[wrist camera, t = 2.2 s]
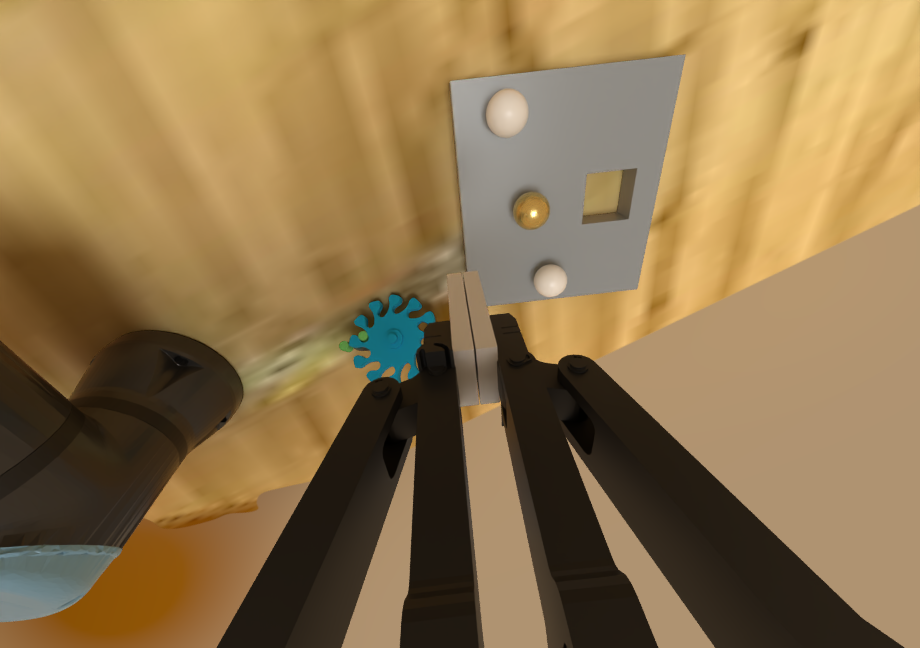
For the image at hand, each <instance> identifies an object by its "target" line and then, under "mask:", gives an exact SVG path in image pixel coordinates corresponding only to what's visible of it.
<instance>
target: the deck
mask: <svg viewBox="0 0 920 648" xmlns="http://www.w3.org/2000/svg"><path fill="white" fill-rule="evenodd" d="M685 55H686V54H685ZM685 55H677V56H668V57H659V58H650V59H641V60H632V61H623V62H615V63H606V64H597V65H588V66H579V67H570V68H561V69H552V70H544V71H535V72H526V73H517V74H508V75H499V76H490V77H482V78H473V79H464V80H455V81H450V82H449V88H450V98H451V109H452V120H453V131H454V142H455V153H456V164H457V175H458V186H459V196H460V207H461V218H462V229H463V240H464V251H465V262H466V272H471V271H478V274H479V278H480V282H481V286H482V290H483V293H484V297H485V301H486V305H487V306H494V305H502V304H511V303H520V302H529V301H537V300H546V299H555V298H564V297H572V296H581V295H590V294H599V293H607V292H616V291H625V290H634V289H637V288H638V283H639V278H640V273H641V268H642V263H643V258H644V254H645V249H646V244H647V239H648V234H649V229H650V225H651V220H652V215H653V210H654V205H655V200H656V195H657V191H658V186H659V181H660V176H661V171H662V166H663V162H664V157H665V152H666V147H667V142H668V137H669V132H670V128H671V123H672V118H673V113H674V108H675V103H676V99H677V94H678V89H679V84H680V79H681V74H682V70H683V65H684V60H685ZM508 88H510V89H515V90H517V91H519V92H520V93H521V94H522V95H523V96H524V97H525V99H526V101H527V104H528V111H529V112H528V119H527V122H526V124H525V126H524V128H523V129H522V130H521V131H520V132H519V133H518V134H517V135H515V136H513V137H510V138H502V137H499V136H497V135H495V134H494V133H493V132H492V131H491V130H490V128H489V126H488V124H487V120H486V109H487V106H488V103H489V101H490V99H491V98H492V97H493V96H494V95H495V94H496V93H497V92H498V91H500V90H503V89H508ZM617 170H623V175H622V182H621V189H620V195H619V202H618V209H617V212H616V213H607V214H598V215H589V216H583V207H584V197H585V187H586V176H587V174H590V173H599V172H608V171H617ZM527 192H538V193H541V194H542V195H544V196H545V197H546V198H547V200H548V202H549V204H550V215H549V218H548V220H547V222H546V223H545V224H544V225H543V226H542V227H540V228H538V229H535V230H526V229H523V228H521V227H520V226H519V225H518V224H517V223H516V221H515V219H514V216H513V208H514V205H515V202H516V201H517V199H518V198H519V197H520V196H521V195H523V194H525V193H527ZM549 264H553V265H557V266H559V267H561V268H562V269H563V270H564V271H565V273H566V275H567V285H566V288H565V289H564V291H563V292H562V293H560V294H559V295H557V296H554V297H546V296H543V295H541V294H540V293H539V292H538V291H537V290H536V288H535V286H534V276H535V274H536V272H537V271H538V270H539V269H540V268H541V267H543V266H545V265H549Z"/></svg>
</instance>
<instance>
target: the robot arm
mask: <svg viewBox="0 0 920 648" xmlns="http://www.w3.org/2000/svg"><path fill="white" fill-rule="evenodd" d="M463 279H464V284H463ZM447 283H448V297H449V310H450V321H442V322H433V323H429V324H428V325H427V327H426V328H425V329H424V344H423V345H421V346H420V347H419V348H418V349H417V351H416V358H417V363H418V368H419V373H418V374H417V375H416V376H414V377H413V378H411V379H409V380H406V381H404V382H401V383H399V382H398V381H397V380H396V379H394V378H391V377H381V378H378V379H375V380H373V381H371V382H370V383H368V384H367V385H366V387H365V388H364V389H363V391H362V393H361V394H360V396H359V398H358V400H357V401H356V403H355V405H354V407H353V408H352V410H351V412H350V414H349V416H348V417H347V419H346V421H345V423H344V424H343V426H342V428H341V430H340V431H339V433H338V435H337V437H336V438H335V440H334V442H333V444H332V445H331V447H330V449H329V451H328V452H327V454H326V456H325V458H324V460H323V461H322V463H321V465H320V467H319V468H318V470H317V472H316V474H315V475H314V477H313V479H312V481H311V482H310V484H309V486H308V488H307V490H306V491H305V493H304V495H303V497H302V498H301V500H300V502H299V504H298V505H297V507H296V509H295V511H294V513H293V514H292V516H291V518H290V519H289V521H288V523H287V525H286V527H285V528H284V530H283V532H282V534H281V535H280V537H279V539H278V541H277V542H276V544H275V546H274V548H273V549H272V551H271V553H270V555H269V557H268V558H267V560H266V562H265V563H264V565H263V567H262V569H261V570H260V573H259V574H258V576H257V577H256V580H255V581H254V583H253V585H252V587H251V588H250V590H249V592H248V594H247V595H246V597H245V599H244V601H243V602H242V604H241V606H240V608H239V609H238V611H237V613H236V614H235V616H234V618H233V620H232V622H231V623H230V625H229V627H228V629H227V630H226V632H225V634H224V636H223V637H222V639H221V641H220V643H219V644H218V646H217V648H341V647H342V644H343V641H344V638H345V635H346V632H347V629H348V627H349V624H350V620H351V618H352V615H353V612H354V609H355V606H356V603H357V600H358V597H359V594H360V591H361V589H362V585H363V583H364V580H365V577H366V574H367V571H368V568H369V565H370V562H371V559H372V557H373V554H374V551H375V547H376V545H377V542H378V539H379V536H380V533H381V530H382V527H383V524H384V521H385V519H386V516H387V513H388V510H389V507H390V504H391V501H392V498H393V495H394V492H395V489H396V486H397V484H398V481H399V478H400V474H401V472H402V469H403V466H404V463H405V460H406V457H407V454H408V451H409V449H410V446H411V443H412V438H413V436H415V435H416V452H415V453H416V454H415V474H414V495H413V515H412V537H411V558H410V560H411V561H410V580H409V591H408V595H407V597H406V598H405V601H404V605H403V611H402V621H401V637H400V648H484V642H483V632H482V623H481V613H480V603H479V592H478V581H477V571H476V560H475V550H474V539H473V530H472V519H471V509H470V499H469V487H468V478H467V467H466V456H465V446H464V436H463V425H462V415H461V408H460V407H462V406H471V405H479V399H478V390H479V397H480V403H481V404H489V403H497V402H500V400H501V412H502V413H501V414H502V426H504V427H505V432H506V437H507V442H508V447H509V451H510V456H511V461H512V466H513V471H514V475H515V480H516V485H517V490H518V494H519V499H520V504H521V509H522V514H523V519H524V523H525V528H526V533H527V538H528V543H529V547H530V552H531V557H532V562H533V566H534V571H535V576H536V581H537V586H538V590H539V596H540V600H541V605H542V610H543V615H544V620H545V626H546V634H547V643H548V648H658V646H657V643H656V641H655V638H654V636H653V634H652V631H651V629H650V626H649V624H648V621H647V619H646V617H645V614H644V611H643V609H642V607H641V604H640V602H639V599H638V597H637V595H636V593H635V590H634V588H633V586H632V584H631V582H630V581H629V579H628V578H627V576H626V575H625V574H624V573H622V572H621V571H620V570H618V568H617V567H616V565H615V563H614V561H613V558H612V556H611V553H610V551H609V548H608V546H607V543H606V540H605V538H604V535H603V533H602V530H601V527H600V525H599V522H598V520H597V517H596V514H595V512H594V509H593V507H592V504H591V501H590V499H589V496H588V494H587V491H586V489H585V486H584V483H583V481H582V478H581V476H580V473H579V470H578V468H577V465H576V463H575V460H574V457H573V455H572V452H571V450H570V447H569V445H568V442H567V439H568V441H569V442H570V443H571V445H572V446H573V448H574V449H575V450H576V452H577V453H578V455H579V456H580V457H581V459H582V460H583V461H584V463H585V465H586V466H587V467H588V469H589V470H590V472H591V473H592V474H593V476H594V477H595V479H596V480H597V481H598V483H599V484H600V486H601V487H602V489H603V490H604V491H605V493H606V494H607V495H608V497H609V498H610V500H611V501H612V503H613V504H614V506H615V507H616V508H617V510H618V511H619V512H620V514H621V515H622V517H623V518H624V520H625V521H626V522H627V524H628V525H629V527H630V528H631V529H632V531H633V532H634V534H635V535H636V537H637V538H638V539H639V541H640V542H641V544H642V545H643V546H644V548H645V549H646V550H647V552H648V553H649V555H650V556H651V558H652V559H653V560H654V562H655V563H656V565H657V566H658V568H659V569H660V570H661V572H662V573H663V575H664V576H665V577H666V579H667V580H668V582H669V583H670V584H671V586H672V587H673V589H674V590H675V592H676V593H677V594H678V596H679V597H680V599H681V600H682V601H683V603H684V604H685V605H686V607H687V608H688V610H689V611H690V613H691V614H692V615H693V617H694V618H695V620H696V621H697V623H698V624H699V625H700V627H701V628H702V630H703V631H704V632H705V634H706V635H707V637H708V638H709V639H710V641H711V642H712V644H713V645H714V647H715V648H904V647H903V646H901V645H900V644H898V643H897V642H896V641H894V640H893V639H891V638H890V637H888V636H887V635H886V634H884V633H882V632H881V631H880V630H878V629H877V628H875V627H874V626H873V625H871V624H870V623H868V622H866V621H865V620H864V619H863V618H861V617H860V616H859V615H858V614H857V613H856V612H855V611H854V610H853V609H852V608H851V607H850V606H849V605H848V604H847V603H846V602H845V601H844V600H842V599H841V598H840V597H839V596H838V595H837V594H836V593H835V592H834V591H833V590H832V589H831V588H830V587H829V586H828V585H827V584H826V583H825V582H824V581H823V580H822V579H821V578H819V576H818V575H816V574H815V573H814V572H813V571H812V570H811V569H810V568H809V567H808V566H807V565H806V564H805V563H804V562H803V561H802V560H801V559H800V558H799V557H798V556H797V555H796V554H795V553H794V552H792V551H791V550H790V549H789V548H788V547H787V546H786V545H785V544H784V543H783V542H782V541H781V540H780V539H779V538H778V537H777V536H776V535H775V534H774V533H773V532H771V530H770V529H768V528H767V527H766V526H765V525H764V524H763V523H762V522H761V521H760V520H759V519H758V518H757V517H756V516H755V515H754V514H753V513H752V512H751V511H749V510H748V508H747V507H745V506H744V505H743V504H742V503H741V502H740V501H739V500H738V499H737V498H736V497H735V496H734V495H733V494H732V493H731V492H730V491H729V490H728V489H727V488H725V486H724V485H723V484H722V483H720V482H719V481H718V480H717V479H716V478H715V477H714V476H713V475H712V474H711V473H710V472H709V471H708V470H707V469H706V468H705V467H704V466H703V465H702V464H701V463H700V462H699V461H698V460H696V459H695V458H694V457H693V456H692V455H691V454H690V453H689V452H688V451H687V450H686V449H685V448H684V447H683V446H682V445H681V444H680V443H679V442H678V441H677V440H675V439H674V438H673V437H672V436H671V435H670V434H669V433H668V432H667V431H666V430H665V429H664V428H663V427H662V426H661V425H660V424H659V423H658V422H657V421H656V420H655V419H654V418H653V417H652V416H651V415H649V414H648V413H647V412H646V411H645V410H644V409H643V408H642V407H641V406H640V405H639V404H638V403H637V402H636V401H635V400H634V399H633V398H632V397H631V396H630V395H629V394H628V393H627V392H626V391H624V390H623V389H622V388H621V387H620V386H619V385H618V384H617V383H616V382H615V381H614V380H613V379H612V378H611V377H610V376H609V375H608V374H607V373H606V372H605V371H604V370H602V368H601V367H599V366H598V365H597V364H596V363H595V362H594V361H593V360H591V359H590V358H588V357H585V356H582V355H567V356H565V357H563V358H561V360H560V361H559V363H558V364H550V363H544V362H540V361H538V360H536V359H535V357H534V356H533V355H532V354H531V353H529V352H528V350H527V347H526V345H525V342H524V339H523V337H522V334H521V332H520V329H519V327H518V324H517V321H516V319H515V318H514V317H513V316H512V315H510V314H509V313H505V314H497V315H489V313H488V309H487V305H486V301H485V297H484V293H483V290H482V286H481V282H480V278H479V274H478V271H471V272H463V278H462V273H453V274H447ZM464 289H465V291H464ZM477 384H478V388H477ZM242 396H243V390H242V385H241V382H240V379H239V377H238V375H237V374H236V372H235V371H234V369H233V368H232V367H231V366H230V364H229V363H228V362H227V361H226V360H225V359H223V358H222V357H221V356H220V355H219V354H217V353H216V352H215V351H213V350H211V349H210V348H208V347H207V346H205V345H203V344H201V343H199V342H197V341H195V340H192V339H190V338H187V337H184V336H181V335H177V334H173V333H168V332H162V331H138V332H133V333H129V334H126V335H123V336H121V337H119V338H117V339H116V340H114V341H113V342H112V343H110V344H109V345H108V346H106V347H105V348H104V349H102V350H101V351H100V352H99V353H98V354H97V355H96V356H95V357H94V358H93V360H92V361H91V363H90V366H89V368H88V369H87V371H86V372H85V374H84V375H83V377H82V378H81V380H80V382H79V383H78V385H77V386H76V388H75V390H74V391H73V393H72V395H71V396H70V398H69V400H68V399H67V398H65V397H64V396H63V395H62V394H61V393H60V392H58V391H57V390H56V389H55V388H54V387H53V386H52V385H50V384H49V383H48V382H47V381H46V380H45V379H44V378H42V377H41V376H40V375H39V374H38V373H37V372H36V371H34V370H33V369H32V368H31V367H30V366H29V365H27V364H26V363H25V362H24V361H23V360H22V359H21V358H19V357H18V356H17V355H16V354H15V353H14V352H13V351H11V350H10V349H9V348H8V347H7V346H6V345H5V344H3V343H2V342H1V341H0V622H10V621H20V620H28V619H34V618H39V617H44V616H47V615H51V614H54V613H57V612H59V611H62V610H64V609H66V608H68V607H69V606H71V605H73V604H74V603H76V602H77V601H78V600H80V599H81V598H82V597H83V596H84V595H85V594H86V593H87V592H88V591H89V590H90V588H91V587H92V586H93V585H94V583H95V582H96V581H97V579H98V578H99V577H100V576H101V574H102V573H103V572H104V571H105V569H106V568H107V567H108V566H109V564H110V563H111V562H112V561H113V559H114V558H116V557H118V556H119V555H120V553H121V551H122V548H123V546H124V545H125V543H126V542H127V540H128V539H129V537H130V536H131V535H132V533H133V532H134V530H135V529H136V527H137V526H138V525H139V523H140V522H141V520H142V519H143V517H144V516H145V514H146V513H147V512H148V510H149V509H150V507H151V506H152V504H153V503H154V501H155V500H156V499H157V497H158V496H159V494H160V493H161V491H162V490H163V488H164V487H165V485H166V484H167V483H168V481H169V480H170V478H171V477H172V475H173V474H174V472H175V471H176V470H177V468H178V467H179V465H180V464H181V462H182V461H183V460H184V458H185V457H186V456H187V454H188V453H189V452H191V451H192V450H193V449H195V448H196V447H197V446H199V445H200V444H201V443H202V442H204V441H205V440H206V439H208V438H209V437H210V436H211V435H213V434H214V433H215V432H216V431H217V430H219V429H220V428H222V427H223V426H224V425H225V424H226V423H227V422H228V421H229V420H230V419H231V418H232V416H233V415H234V413H235V412H236V410H237V409H238V407H239V405H240V403H241V401H242ZM565 436H566V437H565ZM566 438H567V439H566Z"/></svg>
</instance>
